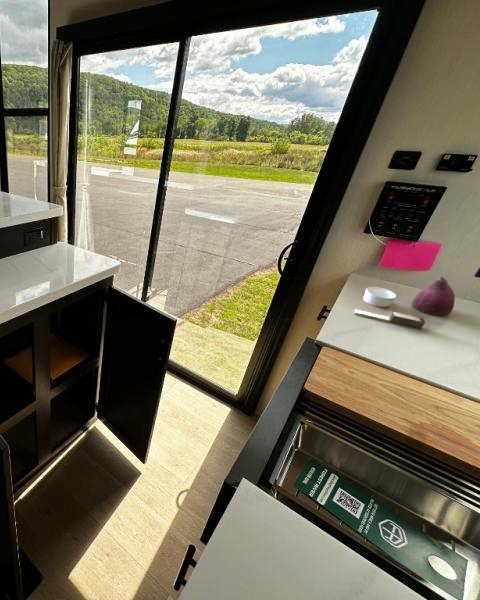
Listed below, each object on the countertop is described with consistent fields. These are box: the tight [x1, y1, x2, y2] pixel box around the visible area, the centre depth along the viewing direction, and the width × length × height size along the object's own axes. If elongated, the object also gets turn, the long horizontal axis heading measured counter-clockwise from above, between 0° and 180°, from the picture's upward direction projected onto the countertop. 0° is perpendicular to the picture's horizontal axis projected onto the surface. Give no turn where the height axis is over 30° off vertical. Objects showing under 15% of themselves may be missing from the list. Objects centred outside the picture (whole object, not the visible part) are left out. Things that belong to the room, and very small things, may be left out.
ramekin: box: [363, 286, 397, 308], centre depth 122 cm, size 9×9×4 cm
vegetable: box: [411, 275, 456, 317], centre depth 114 cm, size 10×10×15 cm
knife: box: [353, 309, 426, 331], centre depth 112 cm, size 18×3×3 cm, turn 56°
